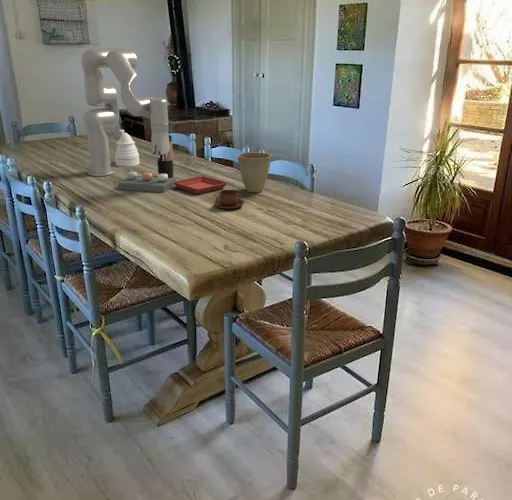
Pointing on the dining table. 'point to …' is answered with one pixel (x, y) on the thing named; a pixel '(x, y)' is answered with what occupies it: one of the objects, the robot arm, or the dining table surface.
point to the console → (147, 184)
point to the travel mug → (168, 161)
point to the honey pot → (126, 151)
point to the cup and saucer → (228, 200)
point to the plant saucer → (200, 184)
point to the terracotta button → (147, 176)
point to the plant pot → (254, 170)
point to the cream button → (162, 177)
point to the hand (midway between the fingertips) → (162, 169)
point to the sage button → (131, 175)
